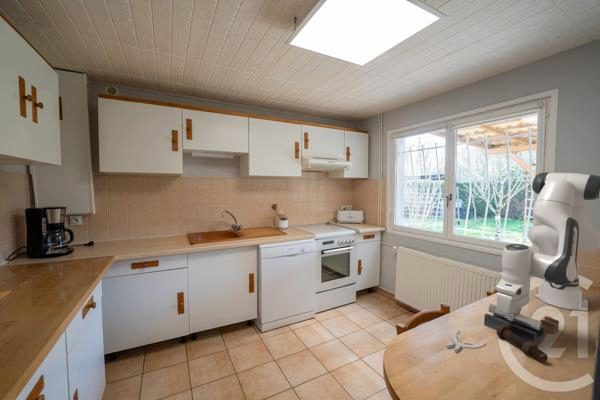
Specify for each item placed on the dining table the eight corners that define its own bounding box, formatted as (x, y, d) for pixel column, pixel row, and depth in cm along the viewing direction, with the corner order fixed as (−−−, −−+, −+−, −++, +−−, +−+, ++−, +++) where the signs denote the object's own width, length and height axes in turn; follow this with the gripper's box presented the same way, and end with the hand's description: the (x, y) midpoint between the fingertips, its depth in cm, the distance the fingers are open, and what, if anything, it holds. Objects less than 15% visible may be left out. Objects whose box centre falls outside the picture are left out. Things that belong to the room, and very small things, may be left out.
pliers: (486, 340, 92) (466, 355, 84) (486, 344, 92) (466, 359, 84) (457, 327, 100) (437, 339, 92) (457, 331, 100) (437, 343, 92)
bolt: (541, 369, 82) (499, 340, 97) (553, 361, 82) (510, 333, 97) (535, 355, 81) (494, 328, 96) (547, 347, 81) (504, 321, 96)
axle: (488, 313, 106) (488, 305, 106) (492, 310, 108) (492, 303, 107) (538, 331, 92) (538, 322, 92) (541, 329, 94) (542, 320, 94)
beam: (504, 311, 116) (505, 302, 116) (558, 330, 101) (559, 320, 100) (498, 314, 113) (499, 305, 113) (553, 334, 98) (553, 324, 97)
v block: (495, 318, 109) (495, 308, 109) (544, 337, 96) (544, 326, 95) (484, 325, 104) (484, 314, 104) (533, 346, 91) (534, 334, 90)
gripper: (516, 277, 107) (514, 308, 108) (493, 287, 97) (492, 321, 98) (535, 282, 101) (533, 315, 102) (513, 293, 91) (512, 329, 92)
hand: (513, 318), depth 100 cm, fingers closed on axle, 3 cm apart
